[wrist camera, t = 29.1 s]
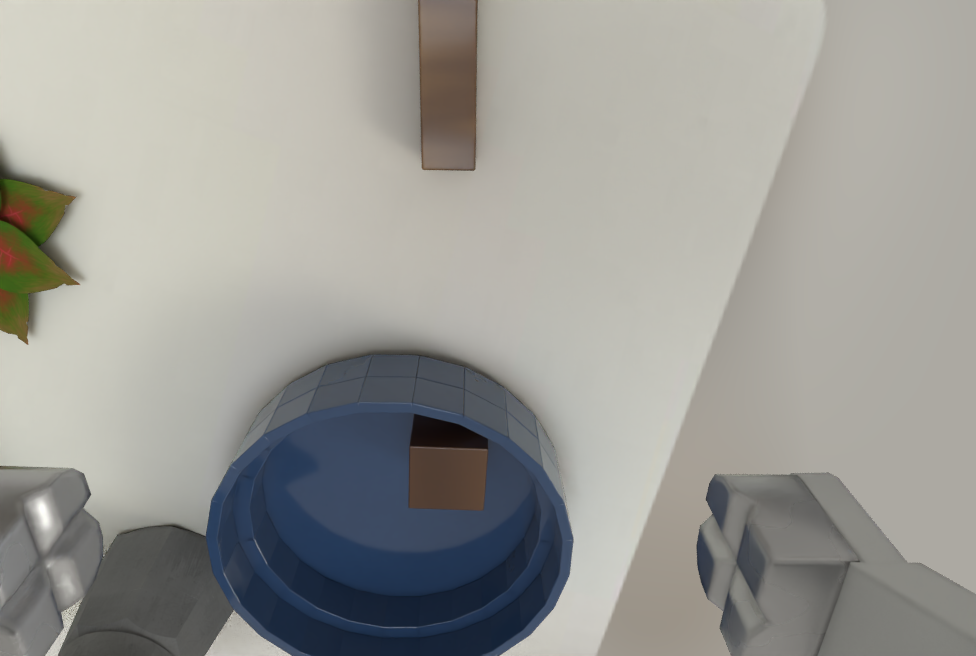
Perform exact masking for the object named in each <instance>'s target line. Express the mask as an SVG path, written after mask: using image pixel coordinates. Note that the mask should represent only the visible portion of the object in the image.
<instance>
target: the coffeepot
mask: <svg viewBox="0 0 976 656" xmlns="http://www.w3.org/2000/svg"><path fill="white" fill-rule="evenodd" d="M233 610H234V609H233V608H232V606H231V605H230V603H229V602H228V600H227V598H226V596H225V594H224V593H223V591H222V589H221V587H220V585H219V584H218V582H217V580H216V578H215V577H214V575H213V572H212V567H211V562H210V557H209V552H208V547H207V542H206V538H205V537H203V536H202V535H199V534H196V533H194V532H191V531H188V530H184V529H180V528H175V527H170V526H158V527H146V528H142V529H138V530H134V531H132V532H130V533H126V534H120V535H117V537H116V538H115V540H114V541H113V543H112V545H111V546H110V548H109V550H108V551H107V553H106V554H105V556H104V558H103V559H102V561H101V564H100V567H99V571H98V574H97V577H96V580H95V581H94V583H93V584H92V586H91V587H90V589H89V591H88V592H87V594H86V595H85V597H84V598H83V600H82V602H81V604H80V607H79V609H78V611H77V613H76V616H75V618H74V620H73V622H72V625H71V627H70V629H69V631H68V634H67V636H66V638H65V640H64V643H63V645H62V647H61V649H60V652H59V654H58V656H205V654H206V653H207V651H208V650H209V648H210V646H211V645H212V643H213V642H214V640H215V638H216V637H217V635H218V634H219V632H220V631H221V629H222V627H223V626H224V624H225V623H226V621H227V620H228V618H229V616H230V615H231V613H232V612H233Z"/></svg>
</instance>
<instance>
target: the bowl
mask: <svg viewBox="0 0 976 656" xmlns="http://www.w3.org/2000/svg"><path fill="white" fill-rule="evenodd" d="M414 414H418V415H422V416H426V417H431V418H435V419H439V420H443V421H447V422H452V423H456V424H460V425H462V426H464V427H465V428H467V429H469V430H471V431H473V432H475V433H477V434H479V435H481V436H483V437H485V438H487V439H488V461H487V474H486V488H485V501H484V510H483V511H477V510H447V509H417V508H409V507H408V501H409V445H410V438H411V431H412V424H413V417H414ZM206 542H207V547H208V552H209V557H210V562H211V567H212V572H213V575H214V577H215V578H216V580H217V582H218V584H219V585H220V587H221V589H222V591H223V593H224V594H225V596H226V598H227V600H228V602H229V603H230V605H231V606H232V608H233V609H234V610H235V611H236V612H237V613H238V614H239V615H240V616H241V617H242V618H243V619H244V620H245V621H246V622H247V623H248V624H249V625H250V626H251V627H252V628H253V629H254V630H255V631H256V632H257V633H258V634H259V635H260V636H261V637H263V638H265V639H266V640H268V641H269V642H271V643H273V644H274V645H276V646H277V647H279V648H281V649H282V650H284V651H285V652H287V653H289V654H290V655H292V656H500V655H501V654H503V653H504V652H506V651H507V650H509V649H510V648H512V647H513V646H515V645H516V644H517V643H519V642H520V641H522V640H523V639H525V638H526V637H528V636H529V635H531V633H532V632H533V631H534V630H535V629H536V628H537V627H538V626H539V624H540V623H541V622H542V621H543V620H544V619H545V618H546V617H547V615H548V614H549V613H550V612H551V611H552V610H553V609H554V607H555V605H556V603H557V601H558V599H559V597H560V595H561V592H562V590H563V588H564V586H565V584H566V582H567V580H568V577H569V574H570V567H571V558H572V549H573V534H572V529H571V524H570V519H569V514H568V508H567V503H566V498H565V493H564V488H563V483H562V479H561V474H560V470H559V466H558V462H557V457H556V453H555V449H554V446H553V445H552V443H551V441H550V440H549V438H548V436H547V435H546V433H545V431H544V430H543V428H542V426H541V425H540V423H539V421H538V420H537V418H536V417H535V415H534V414H533V413H532V412H530V411H529V410H528V409H527V408H526V407H525V406H524V405H523V404H522V403H521V402H520V401H518V400H517V399H516V398H515V397H514V396H513V395H512V394H511V393H510V392H509V391H508V390H506V389H505V388H504V387H503V386H501V385H499V384H497V383H495V382H494V381H492V380H490V379H488V378H486V377H484V376H482V375H480V374H478V373H476V372H475V371H473V370H471V369H469V368H467V367H464V366H460V365H456V364H452V363H448V362H444V361H440V360H436V359H432V358H428V357H424V356H419V355H368V356H363V357H359V358H354V359H350V360H345V361H341V362H336V363H332V364H328V365H325V366H323V367H322V368H320V369H318V370H316V371H314V372H312V373H310V374H308V375H306V376H304V377H302V378H300V379H298V380H296V381H294V382H292V383H290V384H289V385H288V386H287V387H286V388H284V389H283V390H282V391H281V392H280V393H279V394H278V395H277V396H276V397H275V398H274V399H273V400H272V401H271V402H270V403H269V404H267V405H266V406H265V407H264V408H263V409H262V410H261V411H260V412H259V414H258V415H257V417H256V419H255V421H254V423H253V425H252V426H251V428H250V430H249V432H248V434H247V435H246V437H245V439H244V441H243V443H242V445H241V446H240V448H239V450H238V452H237V454H236V456H235V457H234V459H233V461H232V463H231V465H230V467H229V468H228V470H227V472H226V474H225V476H224V478H223V479H222V481H221V483H220V485H219V487H218V489H217V490H216V492H215V494H214V496H213V498H212V500H211V506H210V512H209V519H208V525H207V532H206Z"/></svg>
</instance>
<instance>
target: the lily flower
mask: <svg viewBox="0 0 976 656" xmlns="http://www.w3.org/2000/svg"><path fill="white" fill-rule="evenodd" d="M75 198H76V197H74V196H67V195H66V196H65V195H63V194H60V193H57V192H54V191H51V190H50V191H45V190H43V189H42V188H41V187H38V186H35V185H32V184H28V183H24V182H20V181H15V180H10V179H0V330H2V331H4V332H6V333H8V334H9V333H10V334H11V333H12V334H15V335H17V336H18V338H19V339H20V340H22V341H23V342H25V343H26V344H27V345H28V339H27V334H28V326H27V324H26V322H28V319H29V302H28V301H29V299H28V293H35V292H41V291H45V290H50V289H54V288H57V287H58V286H60V285H62V284H66V285H80V284H79V283H78V282H76V281H75V280H73V279H71V277H70V276H69V275H68V274H67V273H66V272H64V271H63V270H62V269H61V268H60V267H57V266H56V265H55V262H54V261H53V260H51V259H50V258H49V257H48V256H47V255H46V254H45V253H43V252H42V251H41V250H40V249H39V248H38V246H40V245H41V244H43V243H44V242H45V241H46V240H47V239H48V238H49V237H50V235H51V234H52V233H53V231H54V230H55V228H56V227H57V225H58V224H59V222H60V220H61V218H62V217H63V215H64V210H65V205H69V204H70V203H71V202H72V201H73V200H74V199H75Z"/></svg>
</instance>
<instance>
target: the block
mask: <svg viewBox="0 0 976 656" xmlns="http://www.w3.org/2000/svg"><path fill="white" fill-rule="evenodd" d="M487 461H488V439H487V438H485V437H483V436H481V435H479V434H477V433H475V432H473V431H471V430H469V429H467V428H465V427H464V426H462V425H460V424H456V423H452V422H447V421H443V420H439V419H435V418H431V417H426V416H422V415H418V414H414V417H413V424H412V431H411V438H410V445H409V501H408V507H409V508H417V509H447V510H477V511H483V510H484V501H485V488H486V474H487Z"/></svg>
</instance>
